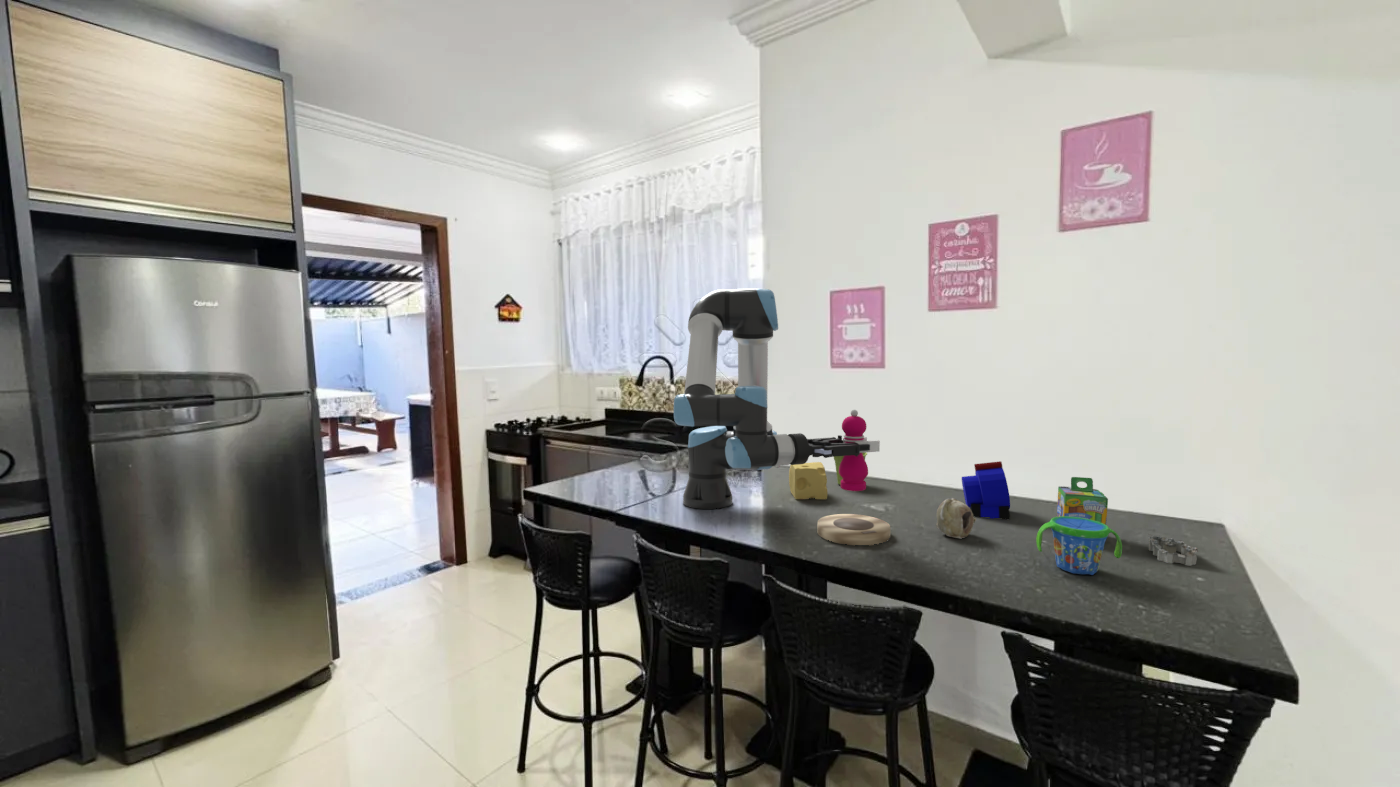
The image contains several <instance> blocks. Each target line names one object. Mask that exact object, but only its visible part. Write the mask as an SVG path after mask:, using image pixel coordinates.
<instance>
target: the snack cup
mask: <svg viewBox="0 0 1400 787" xmlns="http://www.w3.org/2000/svg"><path fill="white" fill-rule="evenodd" d="M1047 529H1051V532H1052V537H1053V538H1052V539H1053V548H1054V549H1053V550H1054V558H1055V563H1056V567H1057V568H1060V569H1061V570H1063V571H1065V572H1067V573H1070V574H1076V575H1091V576H1093V575H1094V574H1096V573H1098V571H1099V568H1100V565H1101V561H1102V557H1103V556H1102V555H1103V553H1104V552H1103V551H1104V548H1105V544H1106V541H1107V539H1108V536H1109V534H1110V533H1111V534H1112V535H1114V536H1115V538H1116V539H1115V540H1116V544H1115V549H1114V552H1113V555H1114V556H1115V558H1116V559H1120V558H1121V557H1122V555H1123V554H1122V553H1123V542H1122V539H1121V537H1120V535H1119V534H1118V533H1117V532H1116V531H1115V530H1113V529H1111V528H1110V527H1109V526H1108V525H1107V524H1106V525H1105V524H1103V523H1101V522H1098V521H1094V520H1090V519H1085V518H1079V517H1068V516H1060V517H1057V516H1054V517H1052V518H1051V519H1050V521H1048V522H1045V523H1043V525H1041V526H1040V528H1039V529H1038V531H1037V533H1036V538H1035V539H1036V540H1035V542H1036V548H1037V550H1038V551H1039V552H1040V553H1042V552H1043V550H1042V542H1043V534H1044V531H1046V530H1047Z"/></svg>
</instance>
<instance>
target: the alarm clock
mask: <svg viewBox="0 0 1400 787" xmlns="http://www.w3.org/2000/svg"><path fill="white" fill-rule="evenodd" d="M974 471H975V473H974V475H968V476H967V475H965V476H961V484H962V489H963V490H962V491H963V492H962V493H963V497H964V501H965V504H966V505H967V506H968V507H969V508H970V509H971V511H972V513H973V516H975V517H974V518H981V517H990V518H989V519H994V518H1002V519H1001V520H1007V519H1011V518H1010V509H1011V497H1010V492H1009V486H1008V481H1007V478H1006V474H1005V470H1004V468H1003V463H1002V461H992V462H982V463H974Z"/></svg>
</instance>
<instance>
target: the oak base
mask: <svg viewBox="0 0 1400 787" xmlns="http://www.w3.org/2000/svg"><path fill="white" fill-rule="evenodd" d="M816 524H817V529H816V532H817V534H818V536H819V537H820V538H822V539H824V540H826V541H828V540H829V541H828V542H831V541H832V543H835V544H840V545H845V544H847V545H846V546H855V545H869V546H875V545H874V544H877V545H880V544H879V543H882V544H884V543H883V542H885V543H887V542H888V541H889V540H890V539H891V525H890V524H889V522H886V521H885V520H883V519H880V518H877V517H873V516H871V515H870V516H869V515H865V514H864V515H863V514H857V513H854V514H853V513H839V514H837V513H836V514H831V515H824V516H822V517H820V518H819V519H818V520H817V523H816ZM889 538H890V539H889ZM887 540H888V541H887ZM886 541H887V542H886Z"/></svg>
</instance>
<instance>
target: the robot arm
mask: <svg viewBox="0 0 1400 787" xmlns="http://www.w3.org/2000/svg"><path fill="white" fill-rule="evenodd" d="M778 320H779V319H778V313H777V304H776V296H775V293H774V292H773V291H772V290H771V289H767V288H757V287H756V288H737V289H736V288H735V289H734V288H733V289H725V288H722V289H717V290H713V291H711V292H708V294H706V295H704V296H703V297H702V298H701V299H700V300H699V301H698V302H697V303H696V304H695V305H694V307H693V309H692V310H691V312H690V314H689V317H688V323H687V329H688V333H689V334H690V337H689V345H688V346H689V349H688V355H687V356H688V357H687V365H686V375H685V384H684V392H683V393H681V394H676V395H675V396H674V399H673V419H674V422H675V424H676V425H677V426H683V427H691V428H692V427H698V428H696V429H694V430H692V431H690V433H689V434H688V441H687V442H688V444H687V448H688V449H687V450H688V479H687V483H686V485H685V488H684V489H685V490H684V492H683V496H682V497H683V498H682V499H683V500H682V504H683V505H684V506H686V507H688V508H693V509H696V510H697V509H698V510H699V509H700V510H716V508H717V509H724V508H727V507H729V506H731V505H732V504H733V493H732V490H731V487H730V485H729V481H728V478H727V474H728V472H727V471H728V470H740V471H741V470H744V471H745V470H746V471H747V470H748V471H760V470H761V471H762V470H770V469H771V468H772V467H775V468H776V469H780V467H781V466H790V465H798V464H805V463H808V460H809V458H810V457H811V456H812V458H820V457H823V458H824V459H826V458H834V457H835V456H850V455H855V456H856V457H857V456H858V455H860V453H865V452H866V453H878V452H880V445H881V444H880V443H881V442H880V440H879V439H878V440H877V439H876V440H867V439H868V438H867V436H864V441H860V442H855V443H845V441H844V437H843V435H837V437H834V436H832V437H823V438H822V437H821V438H820V437H818V438H817V437H816V438H807V436H806V435H805V434H803V433H801V432H799V433H790V434H787V433H781V434H778V433H777V431H775V430H773V425H772V424H771V423H770V422H769V421H768V379H769V378H768V376H769V375H768V374H769V373H768V370H769V369H768V366H769V365H768V364H769V362H768V360H769V358H768V356H769V355H768V354H769V353H768V352H769V348H768V347H769V346H768V344H769V342H770V341H771V340H772V339H773V337H774V331H775V332H776V331H778V330H779V322H778ZM723 331H726V332H728V331H731V332H732V339H734V340H735V341H736V342H737V357H738V358H737V383H738V384H737V387H736V388H735V390H734V393H729V394H728V393H727V394H716V383H717V367H718V366H717V365H718V364H717V363H718V348H719V347H718V346H719V337H720V335H721V334H722V332H723ZM699 427H700V428H699ZM727 427H733V430H728V429H727Z"/></svg>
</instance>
